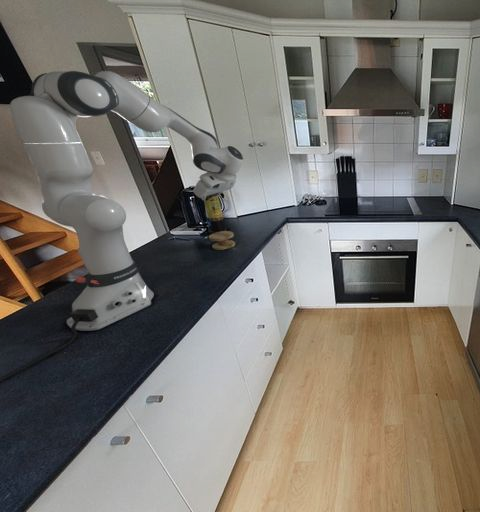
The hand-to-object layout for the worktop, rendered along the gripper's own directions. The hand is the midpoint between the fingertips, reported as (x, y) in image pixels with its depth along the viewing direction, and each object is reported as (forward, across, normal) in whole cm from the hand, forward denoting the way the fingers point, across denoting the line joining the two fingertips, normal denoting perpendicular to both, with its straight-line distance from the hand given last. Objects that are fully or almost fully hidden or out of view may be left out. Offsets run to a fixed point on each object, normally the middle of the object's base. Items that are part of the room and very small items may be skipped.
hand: (209, 197), depth 130 cm
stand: (+18, 0, +18) cm, 26 cm away
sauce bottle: (+8, 0, +9) cm, 12 cm away
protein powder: (+33, -18, +4) cm, 38 cm away
